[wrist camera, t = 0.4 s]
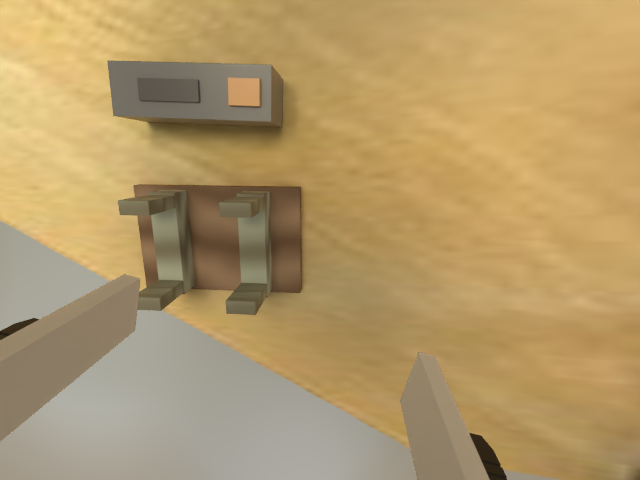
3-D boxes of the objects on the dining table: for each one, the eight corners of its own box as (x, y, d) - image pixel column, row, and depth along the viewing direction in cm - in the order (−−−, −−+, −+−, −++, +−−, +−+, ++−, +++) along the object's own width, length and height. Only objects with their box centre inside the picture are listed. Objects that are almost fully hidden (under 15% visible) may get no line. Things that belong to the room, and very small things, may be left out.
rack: (139, 184, 40) (82, 191, 31) (300, 186, 38) (287, 195, 30) (152, 283, 43) (103, 314, 34) (301, 289, 42) (289, 323, 33)
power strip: (144, 75, 37) (103, 59, 31) (283, 80, 36) (270, 63, 30) (148, 122, 38) (109, 115, 32) (282, 127, 37) (269, 121, 31)
